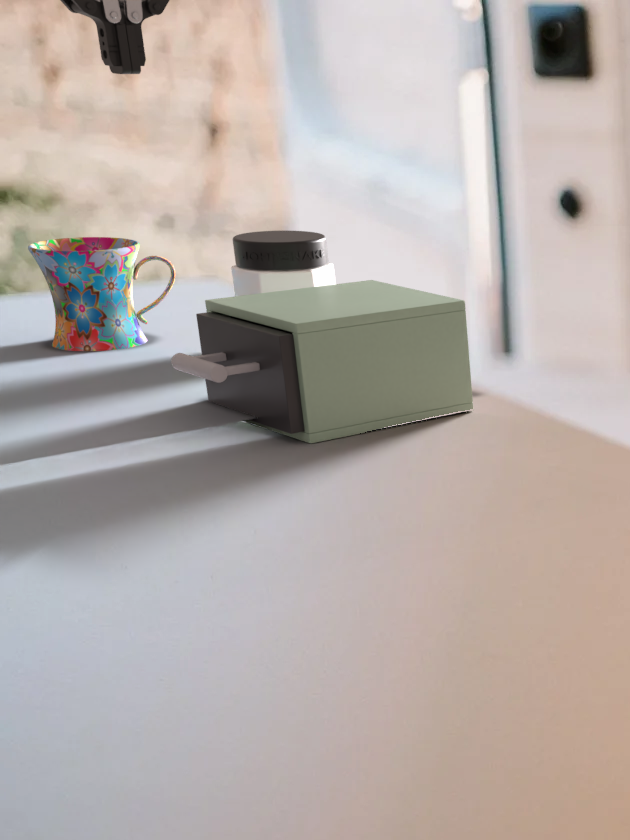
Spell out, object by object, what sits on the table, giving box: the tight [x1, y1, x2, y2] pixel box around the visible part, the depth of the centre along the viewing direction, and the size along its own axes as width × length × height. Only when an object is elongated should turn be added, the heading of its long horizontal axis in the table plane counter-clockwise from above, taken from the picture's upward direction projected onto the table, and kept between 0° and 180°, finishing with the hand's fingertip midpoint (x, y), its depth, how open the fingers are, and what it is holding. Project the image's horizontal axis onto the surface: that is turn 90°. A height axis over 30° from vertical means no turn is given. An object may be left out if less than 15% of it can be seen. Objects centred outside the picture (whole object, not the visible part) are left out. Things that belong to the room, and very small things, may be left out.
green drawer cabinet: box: [204, 279, 474, 444], centre depth 136 cm, size 16×14×10 cm
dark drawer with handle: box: [170, 312, 305, 434], centre depth 134 cm, size 19×12×8 cm, turn 142°
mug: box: [27, 236, 176, 352], centre depth 153 cm, size 12×9×11 cm
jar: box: [230, 230, 337, 297], centre depth 152 cm, size 9×8×12 cm
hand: (125, 73), depth 128 cm, fingers closed
